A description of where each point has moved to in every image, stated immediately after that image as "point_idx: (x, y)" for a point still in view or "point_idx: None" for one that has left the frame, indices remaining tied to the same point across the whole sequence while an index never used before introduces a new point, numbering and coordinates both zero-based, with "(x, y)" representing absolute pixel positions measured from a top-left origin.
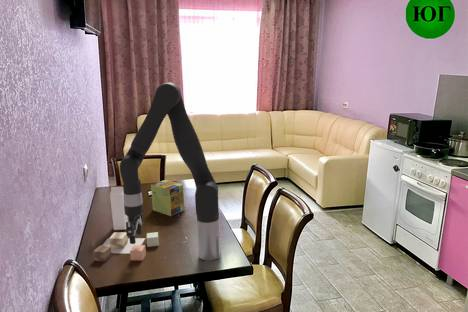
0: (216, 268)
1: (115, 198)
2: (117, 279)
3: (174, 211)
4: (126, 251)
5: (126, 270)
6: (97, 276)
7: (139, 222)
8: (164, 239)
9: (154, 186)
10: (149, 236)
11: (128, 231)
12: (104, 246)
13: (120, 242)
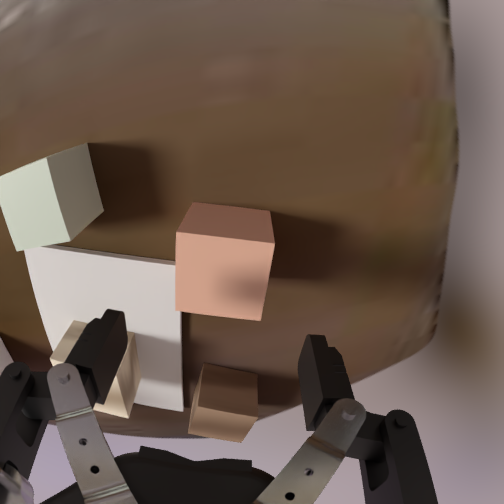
0: None
1: None
2: (410, 301)
3: None
4: (160, 317)
5: (349, 281)
6: (359, 371)
7: (103, 437)
8: (15, 134)
9: None
10: (47, 225)
11: (371, 476)
12: (196, 422)
13: (126, 367)
